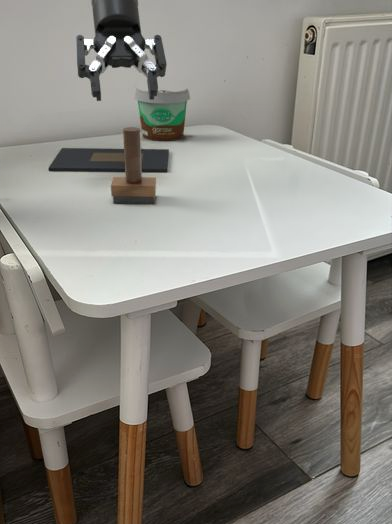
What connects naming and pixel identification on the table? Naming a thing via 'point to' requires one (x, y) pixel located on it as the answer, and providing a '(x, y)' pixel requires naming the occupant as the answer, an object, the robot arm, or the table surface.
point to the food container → (162, 114)
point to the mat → (107, 160)
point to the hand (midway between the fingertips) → (125, 97)
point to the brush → (133, 174)
